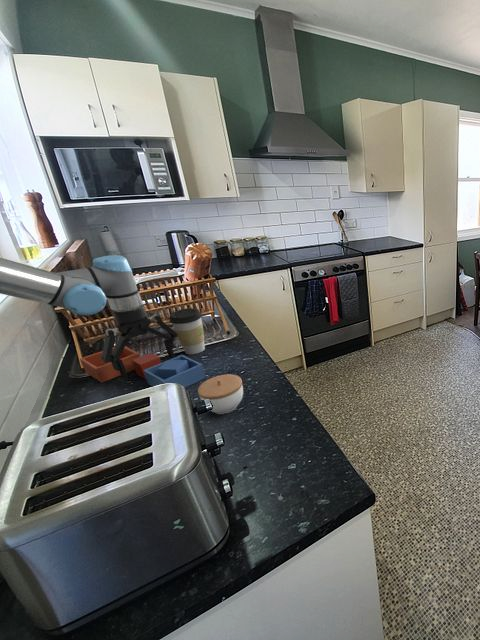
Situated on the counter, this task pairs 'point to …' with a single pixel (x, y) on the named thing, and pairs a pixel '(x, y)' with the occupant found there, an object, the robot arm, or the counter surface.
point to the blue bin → (184, 378)
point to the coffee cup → (189, 329)
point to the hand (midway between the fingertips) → (149, 367)
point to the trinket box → (222, 392)
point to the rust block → (145, 363)
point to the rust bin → (107, 365)
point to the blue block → (172, 368)
